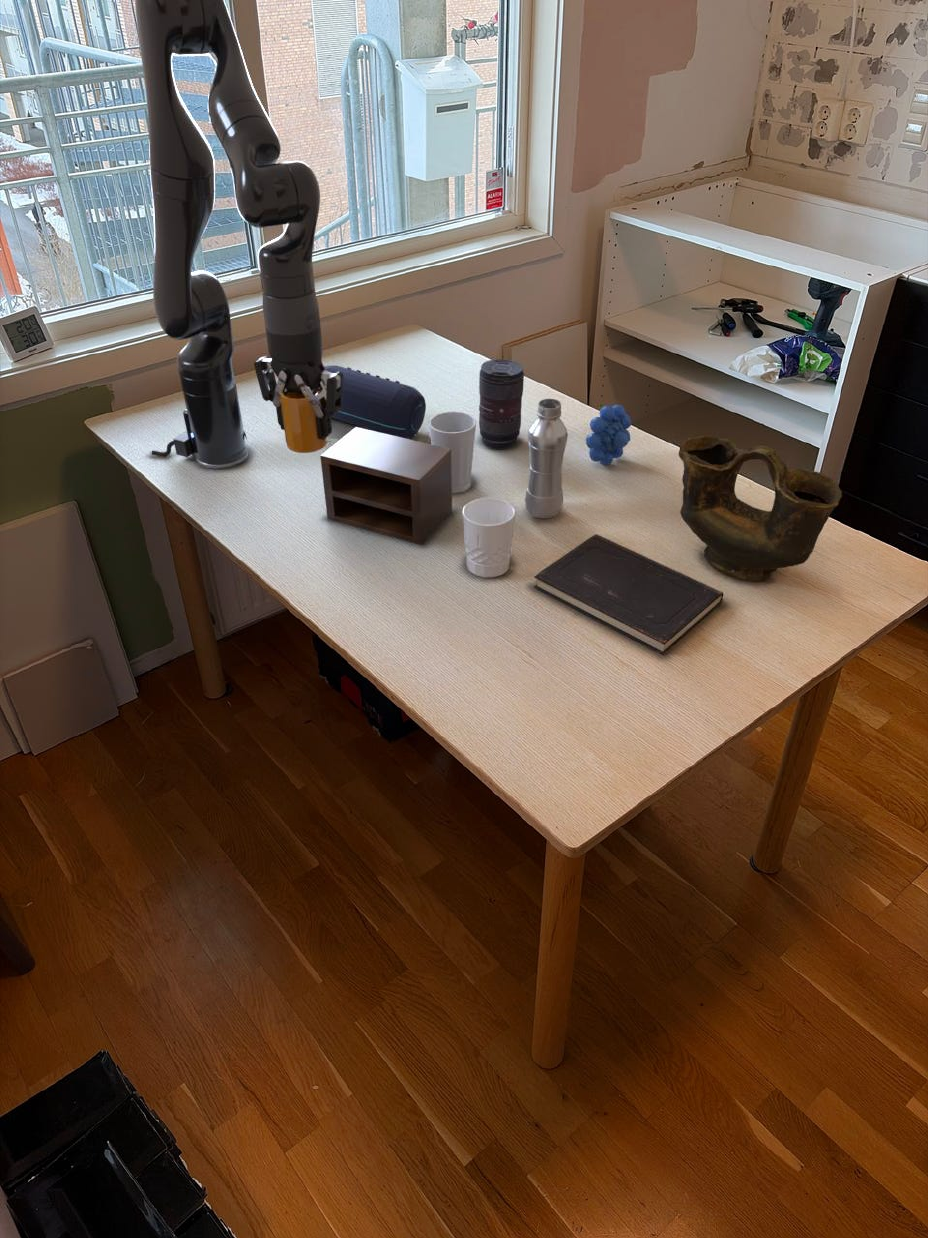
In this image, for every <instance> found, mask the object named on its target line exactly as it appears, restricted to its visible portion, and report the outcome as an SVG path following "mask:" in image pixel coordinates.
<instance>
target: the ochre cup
mask: <svg viewBox="0 0 928 1238" xmlns="http://www.w3.org/2000/svg"><path fill="white" fill-rule="evenodd" d="M285 389H286V388H285ZM316 392H317V390H314V391H313V392H312V393H313V395H314V394H315V395H316V394H318V393H319V391H318V392H317V393H316ZM315 395H314V396H315ZM280 401H281V408H282V416H283V423H284V430H283V431H284V438H285V443H286V447H287V449H289V450H290V451H292V452H295V453H299V454H310V453H315V452H318V451H320V450H322V449H323V448H324V447H326V445H327V438H325V439H324V440H321V439H318V435H317V426H316V416H317V415H316V413H315V411H314V409H313V405H312V404H310V403H309V400H308V399H307V398H305V396H304V395H301V394H299V393H297V392H289V393H287V394H286V395H284V394H283V393H282V392H280ZM319 403H320V405H321V407H322V403H321V399H319Z"/></svg>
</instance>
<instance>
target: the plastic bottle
mask: <svg viewBox="0 0 928 1238" xmlns="http://www.w3.org/2000/svg"><path fill="white" fill-rule="evenodd" d="M536 415H537V417H536V419H535V420H534V421H533V422H532V424H531V425H530V427H529V429H528V432H527V442H528V452H529V474H528V481H527V486H526V490H525V496H524V505H525V509H526V511H527V512H528V513H529V514H530V515H531V516H532V517H535V518H538V519H549V518H553V517H555V516H557V515H558V514H559V513H560V511H561V510H562V508H563V504H564V492H563V491H564V490H563V479H562V478H563V477H562V476H563V475H562V469H563V464H564V457H565V456H564V455H565V451H566V447H567V442H568V435H569V434H568V430H567V427H566V425H565V424H564V422H563V421H562V419H561V416H562V401H559V400H558V399H556V398H544V399H541V400H539V401H538V404H537V410H536Z"/></svg>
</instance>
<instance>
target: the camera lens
mask: <svg viewBox="0 0 928 1238" xmlns="http://www.w3.org/2000/svg"><path fill="white" fill-rule="evenodd" d="M478 374H479V377H478V379H479V380H478V391H479V393H478V394H479V405H478V411H479V414H478V426H479V427H478V428H479V434H480V436H481V442H482V444H483V445H484V446H485V447H487V448H490V449H494V450H505V449H510V448H512V447H514V446H515V445H516V444H517V442H518V437H519V436H520V433H521V432H520V431H521V426H522V401H523V400H522V399H523V398H522V397H523V394H524V378H525V373H524V367H523V365H522V364H521V363H519V362H518V361H515V360H511V359H504V358H495V359H489V360H486V361H484V362H483V363H482V364H481V366H480V370H479V373H478Z"/></svg>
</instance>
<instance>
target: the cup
mask: <svg viewBox="0 0 928 1238" xmlns="http://www.w3.org/2000/svg"><path fill="white" fill-rule="evenodd" d="M428 426H429V434H430V441H431V443H430V444H431V445H436V446H440V447H444V448H448V449H451V475H452V494H459V493H462V492H465V491H467V490H469V489H470V488H471V486H472V470H473V457H474V448H475V447H474V444H475V437H476V426H477V421H476V418H475V417H474V416H473V415H471V414H469V413H467V412H462V411H444V412H441V413H437V414H435V415H433V416H432V417H431V418H430V419H429V421H428Z"/></svg>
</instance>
